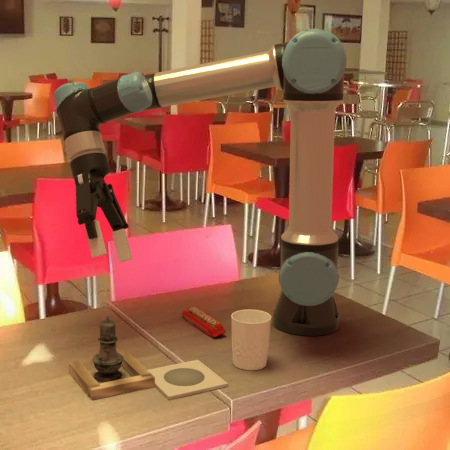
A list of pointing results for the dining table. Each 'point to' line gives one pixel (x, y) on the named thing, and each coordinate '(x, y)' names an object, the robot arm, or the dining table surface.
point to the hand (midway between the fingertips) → (113, 258)
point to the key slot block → (96, 390)
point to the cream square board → (186, 379)
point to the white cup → (250, 338)
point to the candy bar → (203, 322)
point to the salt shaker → (107, 354)
